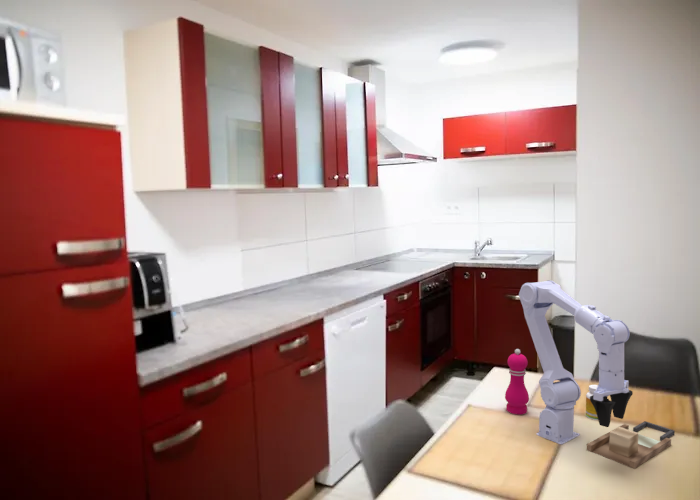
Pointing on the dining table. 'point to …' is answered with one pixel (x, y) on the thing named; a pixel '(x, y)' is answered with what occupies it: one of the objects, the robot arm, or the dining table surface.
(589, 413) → the supplement bottle
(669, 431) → the tray
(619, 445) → the maple block
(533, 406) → the dining table surface
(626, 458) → the walled channel
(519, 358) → the pepper mill
